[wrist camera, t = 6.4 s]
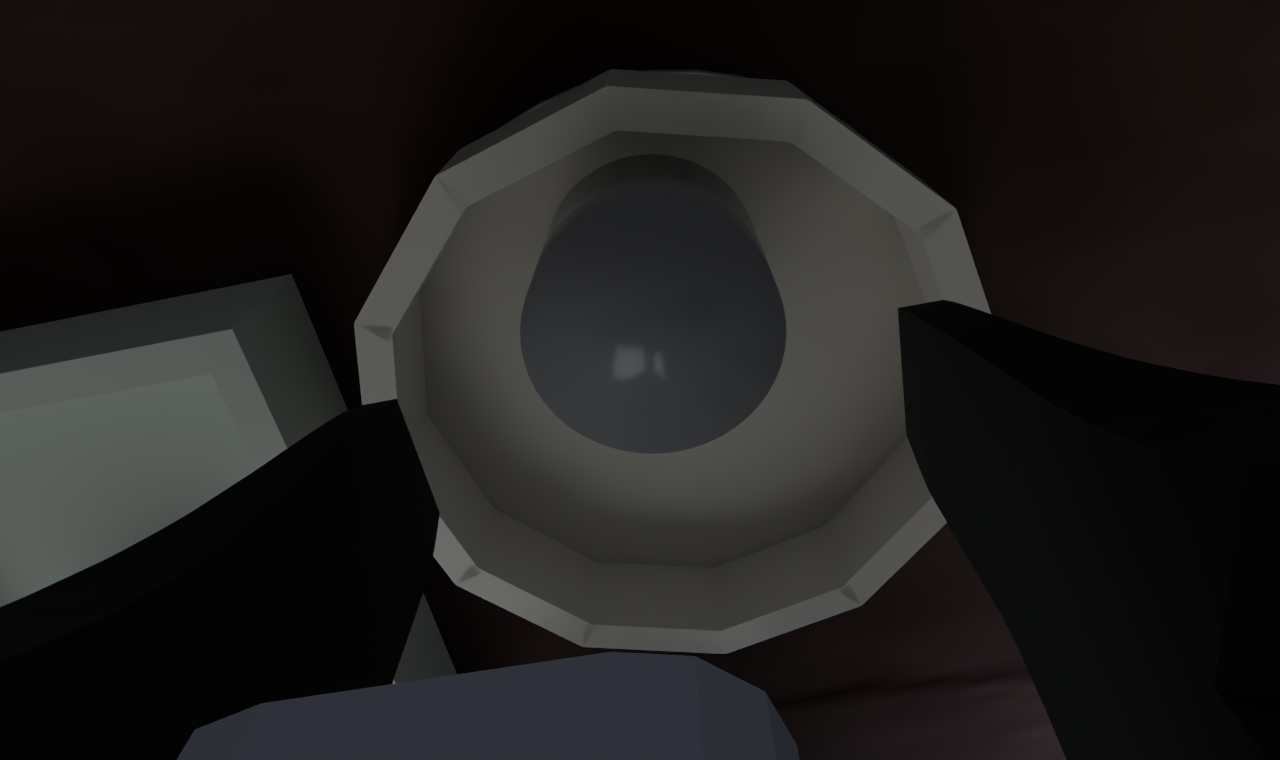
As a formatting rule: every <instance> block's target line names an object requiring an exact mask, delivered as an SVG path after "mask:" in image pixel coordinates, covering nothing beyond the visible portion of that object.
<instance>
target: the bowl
mask: <svg viewBox="0 0 1280 760" xmlns="http://www.w3.org/2000/svg"><path fill="white" fill-rule="evenodd" d="M644 154H661V155H668V156H675V157H678V158H682V159H686V160H689V161H691V162H694V163H696V164H698V165H701V166H703V167H704V168H706V169H708V170H709V171H711V172H713V173H714V174H716V175H717V176H718V177H719V178H720V179H722V180H723V181H724V182H725V183H726V184H727V185H728V186H729V187H730V188H731V189H732V190H733V191H734V192H735V193H736V195H737V196H738V198H739V199H740V200H741V202H742V203H743V205H744V207H745V209H746V211H747V213H748V214H749V216H750V219H751V221H752V224H753V227H754V229H755V232H756V234H757V237H758V239H759V242H760V244H761V247H762V249H763V252H764V254H765V257H766V259H767V262H768V265H769V267H770V270H771V272H772V275H773V277H774V280H775V282H776V285H777V287H778V290H779V293H780V296H781V299H782V302H783V307H784V312H785V317H786V344H785V352H784V356H783V360H782V364H781V367H780V370H779V372H778V375H777V377H776V380H775V382H774V383H773V385H772V387H771V389H770V391H769V392H768V394H767V395H766V397H765V398H764V399H763V401H762V402H761V403H760V405H759V406H758V407H757V408H756V409H755V410H754V411H753V412H752V413H751V414H750V416H749V417H748V418H746V419H745V420H744V421H743V422H741V423H740V424H739V425H738V426H737V427H735V428H734V429H732V430H731V431H729V432H727V433H726V434H724V435H723V436H721V437H719V438H717V439H715V440H713V441H710V442H708V443H706V444H703V445H700V446H697V447H694V448H691V449H687V450H682V451H677V452H670V453H660V454H649V453H635V452H627V451H623V450H619V449H614V448H611V447H608V446H605V445H602V444H600V443H597V442H595V441H593V440H591V439H589V438H587V437H585V436H583V435H581V434H579V433H578V432H576V431H575V430H573V429H572V428H570V427H569V426H567V425H566V424H565V423H564V422H563V421H562V420H560V419H559V418H558V417H557V416H556V415H555V414H554V413H553V412H552V411H551V410H550V409H549V407H548V406H547V405H546V404H545V403H544V401H543V400H542V398H541V397H540V396H539V394H538V393H537V391H536V389H535V387H534V385H533V384H532V382H531V380H530V378H529V375H528V372H527V369H526V367H525V364H524V360H523V355H522V350H521V341H520V324H521V314H522V310H523V305H524V301H525V298H526V295H527V292H528V289H529V286H530V283H531V280H532V277H533V274H534V272H535V269H536V266H537V263H538V260H539V257H540V254H541V251H542V248H543V245H544V243H545V240H546V237H547V234H548V231H549V228H550V225H551V223H552V220H553V218H554V215H555V213H556V211H557V209H558V208H559V206H560V204H561V202H562V201H563V200H564V198H565V197H566V196H567V194H568V193H569V192H570V190H571V189H572V188H573V187H574V186H575V185H576V184H577V183H578V182H579V181H581V180H582V179H583V178H584V177H586V176H587V175H588V174H590V173H591V172H593V171H594V170H596V169H598V168H600V167H601V166H603V165H605V164H608V163H610V162H613V161H615V160H618V159H622V158H626V157H629V156H636V155H644ZM939 300H947V301H952V302H956V303H960V304H963V305H966V306H969V307H972V308H975V309H978V310H981V311H984V312H986V313H989V314H991V312H990V309H989V306H988V303H987V300H986V297H985V294H984V291H983V288H982V285H981V282H980V279H979V276H978V273H977V270H976V267H975V264H974V261H973V258H972V255H971V252H970V249H969V246H968V243H967V240H966V237H965V234H964V231H963V228H962V225H961V222H960V219H959V215H958V212H957V209H956V208H955V207H953V206H952V205H951V204H950V203H949V202H947V201H946V200H945V199H944V198H943V197H941V196H940V195H939V194H938V193H937V192H935V191H934V190H933V189H932V188H931V187H929V186H928V185H927V184H926V183H925V182H923V181H922V180H921V179H920V178H919V177H917V176H916V175H915V174H913V173H912V172H911V171H909V170H908V169H906V168H905V167H904V166H902V165H901V164H900V163H898V162H897V161H896V160H894V159H893V158H892V157H890V156H889V155H887V154H886V153H885V152H883V151H882V150H881V149H879V148H878V147H877V146H875V145H874V144H873V143H871V142H870V141H869V140H867V139H866V138H864V137H863V136H862V135H860V134H859V133H858V132H856V131H855V130H854V129H853V128H852V127H850V126H849V125H848V124H847V123H846V122H844V121H842V120H841V119H839V118H838V117H836V116H835V115H833V114H832V113H831V112H829V111H828V110H827V109H825V108H824V107H822V106H821V105H820V104H818V103H817V102H816V101H814V100H813V99H812V98H810V97H809V96H808V95H806V94H805V93H803V92H802V91H801V90H799V89H798V88H797V87H795V86H794V85H793V84H791V83H790V82H789V81H786V80H771V79H756V78H747V77H744V76H740V75H735V74H728V73H721V72H713V71H706V70H699V69H655V70H648V71H636V70H621V69H612V70H611V69H610V70H608V71H606V72H604V73H602V74H600V75H599V76H597V77H595V78H593V79H591V80H589V81H587V82H585V83H583V84H582V85H579V86H575V87H573V88H571V89H569V90H566V91H564V92H562V93H560V94H557V95H555V96H553V97H551V98H548V99H546V100H544V101H542V102H539V103H538V104H536V105H534V106H533V107H531V108H530V109H528V110H526V111H525V112H523V113H522V114H520V115H518V116H517V117H515V118H514V119H512V120H510V121H509V122H507V123H506V124H504V125H503V126H502V127H500V128H499V129H497V130H495V131H493V132H491V133H489V134H487V135H485V136H483V137H482V138H480V139H478V140H476V141H474V142H472V143H470V144H468V145H466V146H465V147H463V148H461V149H460V150H459V151H458V152H457V153H456V154H455V155H454V156H453V157H452V158H451V160H450V161H449V162H448V163H447V164H446V165H445V166H444V167H443V168H442V169H441V170H440V172H439V173H438V174H437V175H436V176H435V177H434V179H433V181H432V183H431V185H430V186H429V188H428V190H427V192H426V194H425V195H424V197H423V199H422V201H421V203H420V204H419V206H418V208H417V210H416V212H415V214H414V215H413V217H412V219H411V221H410V223H409V224H408V226H407V228H406V230H405V232H404V233H403V235H402V237H401V239H400V241H399V243H398V244H397V246H396V248H395V250H394V252H393V253H392V255H391V257H390V259H389V261H388V262H387V264H386V266H385V268H384V270H383V272H382V273H381V275H380V277H379V279H378V281H377V282H376V284H375V286H374V288H373V290H372V291H371V293H370V295H369V297H368V299H367V301H366V302H365V304H364V306H363V308H362V310H361V311H360V313H359V315H358V317H357V319H356V320H355V322H354V330H355V340H356V350H357V360H358V370H359V380H360V390H361V399H362V405H365V404H370V403H376V402H382V401H387V400H393V399H397V400H398V403H399V406H400V408H401V411H402V414H403V416H404V419H405V422H406V424H407V427H408V430H409V432H410V435H411V438H412V440H413V443H414V446H415V448H416V451H417V454H418V456H419V459H420V462H421V464H422V467H423V470H424V472H425V475H426V477H427V480H428V483H429V485H430V488H431V491H432V493H433V496H434V499H435V501H436V504H437V507H438V509H439V512H440V515H439V522H438V529H437V536H436V542H435V548H434V553H433V556H434V558H435V559H436V560H437V562H438V563H439V564H440V566H441V567H442V568H443V569H444V571H445V572H446V573H447V575H448V576H449V577H450V579H451V580H452V581H453V582H454V584H456V585H457V586H459V587H461V588H463V589H465V590H467V591H469V592H471V593H473V594H475V595H477V596H479V597H481V598H483V599H485V600H487V601H489V602H492V603H494V604H496V605H498V606H500V607H502V608H504V609H506V610H508V611H510V612H512V613H514V614H516V615H518V616H520V617H522V618H524V619H526V620H528V621H530V622H533V623H535V624H537V625H539V626H541V627H543V628H545V629H547V630H549V631H551V632H553V633H555V634H557V635H559V636H561V637H563V638H565V639H567V640H569V641H572V642H574V643H576V644H578V645H580V646H582V647H593V648H614V649H634V650H654V651H674V652H694V653H714V654H725V653H726V654H727V653H730V652H733V651H736V650H739V649H741V648H744V647H747V646H750V645H753V644H755V643H758V642H761V641H764V640H767V639H769V638H772V637H775V636H778V635H781V634H784V633H786V632H789V631H792V630H795V629H798V628H800V627H803V626H806V625H809V624H812V623H814V622H817V621H820V620H823V619H826V618H828V617H831V616H834V615H837V614H840V613H843V612H845V611H848V610H851V609H854V608H857V607H859V606H861V605H863V604H864V603H865V602H866V601H867V600H868V599H869V598H870V597H871V596H872V595H873V594H874V593H875V592H876V591H877V590H878V589H879V588H880V587H881V586H882V585H883V584H884V583H885V582H886V581H887V580H888V579H889V578H891V577H892V576H893V575H894V574H895V573H896V572H897V571H898V570H899V569H900V568H901V567H902V566H903V565H904V564H905V563H906V562H907V561H908V560H909V559H910V558H911V557H912V556H913V555H914V554H915V553H916V552H917V551H918V550H919V549H920V548H921V547H922V546H923V545H924V544H925V543H926V542H927V541H929V540H930V539H931V538H932V537H933V536H934V535H935V534H936V533H937V532H938V531H939V530H940V529H941V528H942V527H943V526H944V525H945V524H946V523H947V522H946V520H945V518H944V517H943V515H942V513H941V511H940V510H939V508H938V506H937V505H936V503H935V501H934V499H933V497H932V496H931V494H930V492H929V490H928V488H927V486H926V483H925V481H924V478H923V476H922V474H921V471H920V469H919V466H918V464H917V461H916V459H915V456H914V453H913V451H912V448H911V446H910V443H909V441H908V438H907V435H906V422H905V407H904V393H903V378H902V364H901V349H900V334H899V320H898V308H900V307H906V306H911V305H917V304H922V303H928V302H934V301H939Z"/></svg>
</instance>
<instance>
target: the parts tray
mask: <svg viewBox="0 0 1280 760" xmlns="http://www.w3.org/2000/svg"><path fill="white" fill-rule="evenodd" d="M347 410H348V409H347V407H346V404H345V402H344V399H343V397H342V395H341V392H340V390H339V387H338V385H337V383H336V380H335V378H334V375H333V373H332V370H331V368H330V366H329V363H328V361H327V358H326V356H325V353H324V351H323V349H322V346H321V344H320V341H319V339H318V337H317V334H316V332H315V329H314V327H313V324H312V322H311V320H310V317H309V315H308V312H307V310H306V307H305V305H304V303H303V300H302V298H301V295H300V293H299V291H298V288H297V286H296V283H295V281H294V278H293V276H292V274H289V275H284V276H279V277H274V278H269V279H264V280H259V281H254V282H249V283H244V284H239V285H234V286H229V287H224V288H219V289H213V290H208V291H203V292H198V293H193V294H188V295H183V296H178V297H173V298H168V299H163V300H158V301H153V302H148V303H143V304H138V305H133V306H127V307H122V308H117V309H112V310H107V311H102V312H97V313H92V314H87V315H82V316H77V317H72V318H67V319H62V320H57V321H52V322H47V323H41V324H36V325H31V326H26V327H21V328H16V329H11V330H6V331H1V332H0V607H1V606H4V605H6V604H9V603H11V602H14V601H16V600H18V599H21V598H23V597H25V596H28V595H30V594H32V593H34V592H36V591H38V590H41V589H43V588H45V587H47V586H49V585H51V584H54V583H56V582H58V581H60V580H62V579H64V578H67V577H69V576H71V575H73V574H75V573H77V572H79V571H82V570H84V569H86V568H88V567H90V566H92V565H95V564H97V563H99V562H101V561H103V560H105V559H107V558H109V557H111V556H113V555H115V554H117V553H119V552H121V551H123V550H124V549H126V548H128V547H130V546H132V545H134V544H136V543H137V542H139V541H141V540H143V539H145V538H147V537H149V536H150V535H152V534H154V533H156V532H158V531H159V530H161V529H163V528H165V527H166V526H168V525H170V524H172V523H173V522H175V521H177V520H179V519H180V518H182V517H184V516H185V515H187V514H189V513H190V512H192V511H193V510H195V509H197V508H198V507H200V506H201V505H203V504H204V503H206V502H207V501H209V500H210V499H212V498H214V497H215V496H217V495H218V494H220V493H221V492H223V491H224V490H226V489H228V488H229V487H231V486H232V485H234V484H235V483H237V482H238V481H240V480H242V479H243V478H245V477H246V476H248V475H249V474H251V473H252V472H254V471H255V470H257V469H258V468H260V467H261V466H263V465H264V464H265V463H267V462H268V461H270V460H271V459H273V458H274V457H276V456H277V455H279V454H280V453H281V452H283V451H284V450H286V449H287V448H289V447H290V446H292V445H293V444H295V443H296V442H298V441H299V440H300V439H302V438H303V437H305V436H306V435H308V434H309V433H311V432H312V431H314V430H315V429H317V428H318V427H320V426H321V425H323V424H325V423H326V422H328V421H329V420H331V419H333V418H334V417H336V416H338V415H340V414H341V413H343V412H345V411H347ZM450 675H457V673H456V671H455V668H454V666H453V663H452V661H451V658H450V656H449V654H448V651H447V649H446V646H445V644H444V642H443V639H442V637H441V634H440V632H439V629H438V627H437V625H436V622H435V620H434V617H433V615H432V612H431V610H430V608H429V605H428V603H427V600H426V598H425V596H424V593H423V595H422V598H421V601H420V604H419V607H418V610H417V613H416V616H415V619H414V622H413V624H412V627H411V630H410V633H409V636H408V639H407V642H406V645H405V648H404V651H403V654H402V656H401V659H400V662H399V665H398V668H397V671H396V674H395V677H394V680H393V683H392V684H396V683H403V682H410V681H416V680H423V679H430V678H437V677H444V676H450Z"/></svg>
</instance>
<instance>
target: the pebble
mask: <svg viewBox="0 0 1280 760" xmlns="http://www.w3.org/2000/svg"><path fill="white" fill-rule="evenodd" d="M520 341H521V350H522V355H523V360H524V364H525V367H526V369H527V372H528V375H529V378H530V380H531V382H532V384H533V385H534V387H535V389H536V391H537V393H538V394H539V396H540V397H541V398H542V400H543V401H544V403H545V404H546V405H547V406H548V407H549V409H550V410H551V411H552V412H553V413H554V414H555V415H556V416H557V417H558V418H559V419H560V420H562V421H563V422H564V423H565V424H566V425H567V426H569V427H570V428H572V429H573V430H575V431H576V432H578V433H579V434H581V435H583V436H585V437H587V438H589V439H591V440H593V441H595V442H597V443H600V444H602V445H605V446H608V447H611V448H614V449H619V450H623V451H627V452H635V453H649V454H660V453H670V452H677V451H682V450H687V449H691V448H694V447H697V446H700V445H703V444H706V443H708V442H710V441H713V440H715V439H717V438H719V437H721V436H723V435H724V434H726V433H727V432H729V431H731V430H732V429H734V428H735V427H737V426H738V425H739V424H740V423H741V422H743V421H744V420H745V419H746V418H748V417H749V416H750V414H751V413H752V412H753V411H754V410H755V409H756V408H757V407H758V406H759V405H760V403H761V402H762V401H763V399H764V398H765V397H766V395H767V394H768V392H769V391H770V389H771V387H772V385H773V383H774V382H775V380H776V377H777V375H778V372H779V370H780V367H781V364H782V360H783V356H784V352H785V344H786V317H785V312H784V307H783V302H782V299H781V296H780V293H779V290H778V287H777V285H776V282H775V280H774V277H773V275H772V272H771V270H770V267H769V265H768V262H767V259H766V257H765V254H764V252H763V249H762V247H761V244H760V242H759V239H758V237H757V234H756V232H755V229H754V227H753V224H752V221H751V219H750V216H749V214H748V213H747V211H746V209H745V207H744V205H743V203H742V202H741V200H740V199H739V198H738V196H737V195H736V193H735V192H734V191H733V190H732V189H731V188H730V187H729V186H728V185H727V184H726V183H725V182H724V181H723V180H722V179H720V178H719V177H718V176H717V175H716V174H714V173H713V172H711V171H709V170H708V169H706V168H704V167H703V166H701V165H698V164H696V163H694V162H691V161H689V160H686V159H682V158H678V157H675V156H668V155H661V154H644V155H636V156H629V157H626V158H622V159H618V160H615V161H613V162H610V163H608V164H605V165H603V166H601V167H600V168H598V169H596V170H594V171H593V172H591V173H590V174H588V175H587V176H586V177H584V178H583V179H582V180H581V181H579V182H578V183H577V184H576V185H575V186H574V187H573V188H572V189H571V190H570V192H569V193H568V194H567V196H566V197H565V198H564V200H563V201H562V202H561V204H560V206H559V208H558V209H557V211H556V213H555V215H554V218H553V220H552V223H551V225H550V228H549V231H548V234H547V237H546V240H545V243H544V245H543V248H542V251H541V254H540V257H539V260H538V263H537V266H536V269H535V272H534V274H533V277H532V280H531V283H530V286H529V289H528V292H527V295H526V298H525V301H524V305H523V310H522V314H521V324H520Z"/></svg>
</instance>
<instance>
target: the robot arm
mask: <svg viewBox="0 0 1280 760" xmlns="http://www.w3.org/2000/svg"><path fill="white" fill-rule="evenodd" d="M898 320H899V334H900V349H901V364H902V378H903V393H904V407H905V422H906V435H907V438H908V441H909V443H910V446H911V448H912V451H913V453H914V456H915V459H916V461H917V464H918V466H919V469H920V471H921V474H922V476H923V478H924V481H925V483H926V486H927V488H928V490H929V492H930V494H931V496H932V497H933V499H934V501H935V503H936V505H937V506H938V508H939V510H940V511H941V513H942V515H943V517H944V518H945V520H946V522H947V523H948V525H949V527H950V529H951V530H952V532H953V534H954V535H955V537H956V539H957V540H958V542H959V544H960V545H961V547H962V549H963V551H964V552H965V554H966V556H967V557H968V559H969V561H970V562H971V564H972V566H973V567H974V569H975V571H976V572H977V574H978V576H979V577H980V579H981V581H982V583H983V584H984V586H985V588H986V589H987V591H988V593H989V594H990V596H991V598H992V599H993V601H994V603H995V604H996V606H997V608H998V610H999V611H1000V613H1001V615H1002V617H1003V619H1004V621H1005V623H1006V625H1007V626H1008V628H1009V630H1010V632H1011V634H1012V636H1013V638H1014V640H1015V642H1016V644H1017V646H1018V649H1019V651H1020V653H1021V655H1022V658H1023V660H1024V662H1025V664H1026V667H1027V669H1028V671H1029V673H1030V675H1031V678H1032V680H1033V682H1034V684H1035V687H1036V689H1037V691H1038V693H1039V696H1040V698H1041V700H1042V702H1043V705H1044V707H1045V709H1046V712H1047V714H1048V716H1049V719H1050V721H1051V724H1052V726H1053V728H1054V731H1055V733H1056V735H1057V738H1058V740H1059V742H1060V745H1061V747H1062V750H1063V752H1064V754H1065V757H1066V759H1067V760H1280V385H1276V384H1268V383H1260V382H1251V381H1243V380H1236V379H1229V378H1223V377H1217V376H1211V375H1205V374H1199V373H1194V372H1189V371H1184V370H1179V369H1175V368H1170V367H1165V366H1160V365H1155V364H1150V363H1145V362H1141V361H1137V360H1133V359H1129V358H1125V357H1121V356H1118V355H1114V354H1111V353H1107V352H1104V351H1100V350H1097V349H1093V348H1090V347H1086V346H1083V345H1079V344H1076V343H1073V342H1070V341H1067V340H1063V339H1060V338H1057V337H1054V336H1051V335H1048V334H1045V333H1042V332H1039V331H1037V330H1034V329H1031V328H1028V327H1025V326H1022V325H1020V324H1017V323H1014V322H1011V321H1008V320H1006V319H1003V318H1000V317H997V316H995V315H992V314H989V313H986V312H984V311H981V310H978V309H975V308H972V307H969V306H966V305H963V304H960V303H956V302H952V301H947V300H939V301H934V302H928V303H922V304H917V305H911V306H906V307H900V308H898ZM439 515H440V512H439V509H438V507H437V504H436V501H435V499H434V496H433V493H432V491H431V488H430V485H429V483H428V480H427V477H426V475H425V472H424V470H423V467H422V464H421V462H420V459H419V456H418V454H417V451H416V448H415V446H414V443H413V440H412V438H411V435H410V432H409V430H408V427H407V424H406V422H405V419H404V416H403V414H402V411H401V408H400V406H399V403H398V400H397V399H393V400H387V401H382V402H376V403H370V404H365V405H359V406H356V407H354V408H351V409H349V410H347V411H345V412H343V413H341V414H340V415H338V416H336V417H334V418H333V419H331V420H329V421H328V422H326V423H325V424H323V425H321V426H320V427H318V428H317V429H315V430H314V431H312V432H311V433H309V434H308V435H306V436H305V437H303V438H302V439H300V440H299V441H298V442H296V443H295V444H293V445H292V446H290V447H289V448H287V449H286V450H284V451H283V452H281V453H280V454H279V455H277V456H276V457H274V458H273V459H271V460H270V461H268V462H267V463H265V464H264V465H263V466H261V467H260V468H258V469H257V470H255V471H254V472H252V473H251V474H249V475H248V476H246V477H245V478H243V479H242V480H240V481H238V482H237V483H235V484H234V485H232V486H231V487H229V488H228V489H226V490H224V491H223V492H221V493H220V494H218V495H217V496H215V497H214V498H212V499H210V500H209V501H207V502H206V503H204V504H203V505H201V506H200V507H198V508H197V509H195V510H193V511H192V512H190V513H189V514H187V515H185V516H184V517H182V518H180V519H179V520H177V521H175V522H173V523H172V524H170V525H168V526H166V527H165V528H163V529H161V530H159V531H158V532H156V533H154V534H152V535H150V536H149V537H147V538H145V539H143V540H141V541H139V542H137V543H136V544H134V545H132V546H130V547H128V548H126V549H124V550H123V551H121V552H119V553H117V554H115V555H113V556H111V557H109V558H107V559H105V560H103V561H101V562H99V563H97V564H95V565H92V566H90V567H88V568H86V569H84V570H82V571H79V572H77V573H75V574H73V575H71V576H69V577H67V578H64V579H62V580H60V581H58V582H56V583H54V584H51V585H49V586H47V587H45V588H43V589H41V590H38V591H36V592H34V593H32V594H30V595H28V596H25V597H23V598H21V599H18V600H16V601H14V602H11V603H9V604H6V605H4V606H1V607H0V760H800V759H799V754H798V749H797V745H796V743H795V741H794V739H793V738H792V736H791V734H790V733H789V731H788V729H787V728H786V726H785V724H784V723H783V721H782V719H781V717H780V716H779V714H778V712H777V711H776V709H775V707H774V706H773V704H772V702H771V701H770V699H769V697H768V695H767V694H766V692H765V691H763V690H761V689H759V688H757V687H755V686H753V685H751V684H749V683H747V682H745V681H743V680H741V679H739V678H737V677H735V676H733V675H731V674H729V673H727V672H725V671H723V670H721V669H719V668H717V667H715V666H714V665H712V664H710V663H708V662H706V661H704V660H702V659H700V658H698V657H696V656H683V655H663V654H643V653H623V652H606V653H599V654H592V655H585V656H579V657H572V658H565V659H558V660H552V661H545V662H538V663H531V664H525V665H518V666H511V667H504V668H498V669H491V670H484V671H477V672H471V673H464V674H457V675H450V676H444V677H437V678H430V679H423V680H416V681H410V682H403V683H396V684H392V683H393V680H394V677H395V674H396V671H397V668H398V665H399V662H400V659H401V656H402V654H403V651H404V648H405V645H406V642H407V639H408V636H409V633H410V630H411V627H412V624H413V622H414V619H415V616H416V613H417V610H418V607H419V604H420V601H421V598H422V595H423V592H424V589H425V586H426V582H427V579H428V576H429V573H430V569H431V564H432V559H433V553H434V548H435V542H436V536H437V529H438V522H439Z"/></svg>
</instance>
